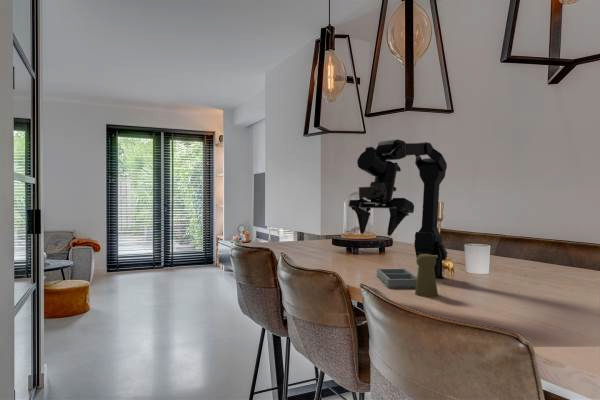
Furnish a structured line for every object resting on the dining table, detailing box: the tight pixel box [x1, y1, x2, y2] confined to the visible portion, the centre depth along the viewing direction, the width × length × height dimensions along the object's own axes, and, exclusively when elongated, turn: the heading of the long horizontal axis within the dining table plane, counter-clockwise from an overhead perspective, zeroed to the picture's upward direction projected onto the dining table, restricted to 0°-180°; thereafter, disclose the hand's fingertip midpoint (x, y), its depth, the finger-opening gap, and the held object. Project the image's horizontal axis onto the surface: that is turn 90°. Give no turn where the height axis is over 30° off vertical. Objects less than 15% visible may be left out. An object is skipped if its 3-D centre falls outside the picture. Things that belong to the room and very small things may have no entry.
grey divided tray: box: [376, 268, 417, 289], centre depth 132 cm, size 10×18×2 cm, turn 0°
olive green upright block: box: [414, 254, 439, 298], centre depth 115 cm, size 6×6×11 cm
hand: (374, 234), depth 117 cm, fingers open, 9 cm apart
